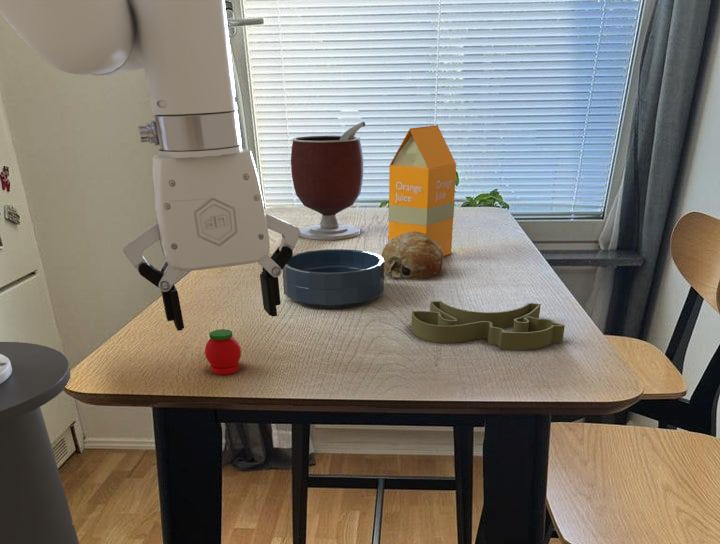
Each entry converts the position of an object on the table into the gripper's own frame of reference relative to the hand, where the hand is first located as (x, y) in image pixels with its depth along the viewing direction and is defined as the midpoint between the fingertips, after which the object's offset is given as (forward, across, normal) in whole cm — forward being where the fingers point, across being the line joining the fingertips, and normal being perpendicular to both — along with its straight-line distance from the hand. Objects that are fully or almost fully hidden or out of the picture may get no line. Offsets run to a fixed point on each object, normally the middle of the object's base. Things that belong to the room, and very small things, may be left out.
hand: (225, 319), depth 70 cm
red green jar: (+6, -1, 0) cm, 6 cm away
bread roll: (+6, +35, +30) cm, 47 cm away
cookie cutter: (+6, +31, 0) cm, 32 cm away
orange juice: (+6, +41, +40) cm, 58 cm away
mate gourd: (+6, +33, +64) cm, 73 cm away
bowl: (+6, +19, +22) cm, 30 cm away
